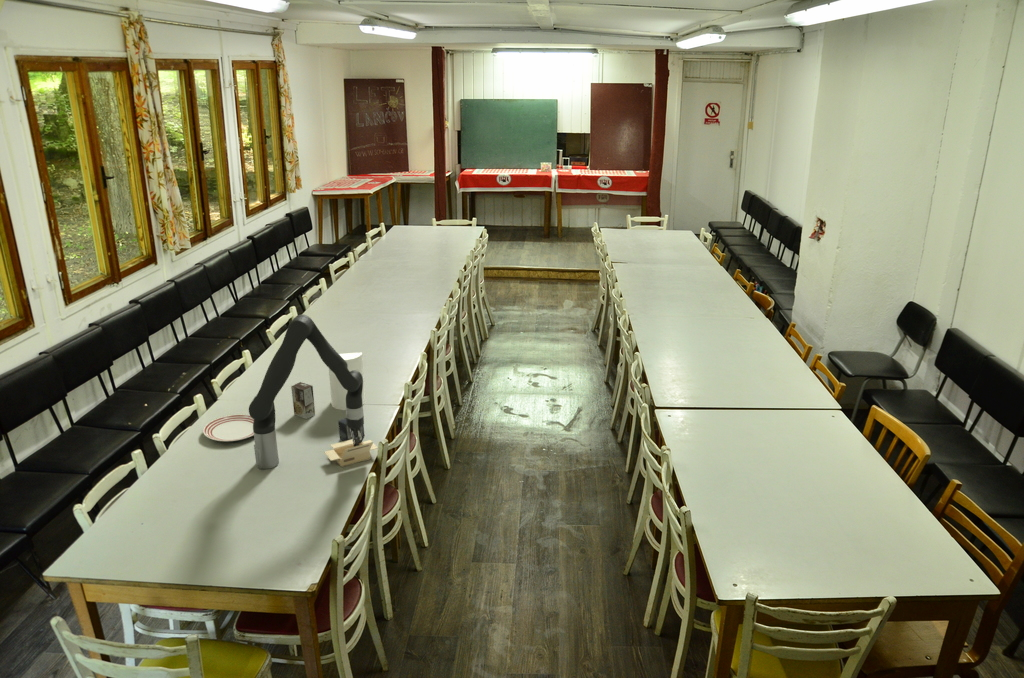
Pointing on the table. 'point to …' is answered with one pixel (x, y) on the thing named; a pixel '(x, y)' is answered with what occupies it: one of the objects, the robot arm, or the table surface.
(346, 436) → the small box
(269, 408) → the robot arm
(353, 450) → the front flap
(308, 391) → the coffee box
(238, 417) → the dinner plate
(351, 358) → the cylinder
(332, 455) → the carton
